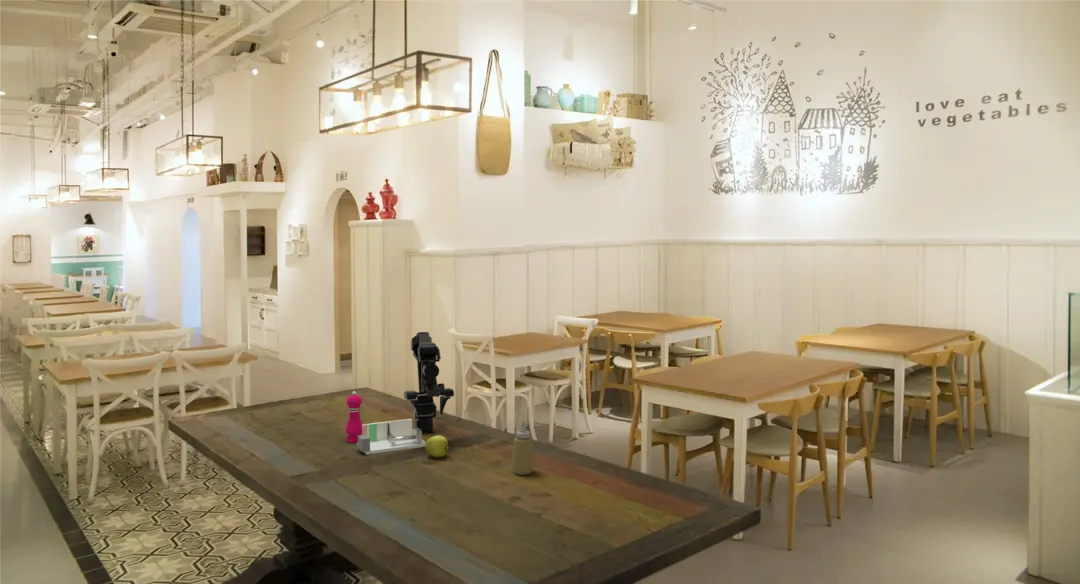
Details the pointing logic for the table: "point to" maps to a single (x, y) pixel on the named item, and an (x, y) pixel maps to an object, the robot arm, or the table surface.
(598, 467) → the table surface
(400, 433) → the gauge base
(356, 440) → the pepper mill
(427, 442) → the apple
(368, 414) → the table surface
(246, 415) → the table surface
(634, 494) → the table surface
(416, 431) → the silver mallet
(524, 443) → the squeeze bottle
